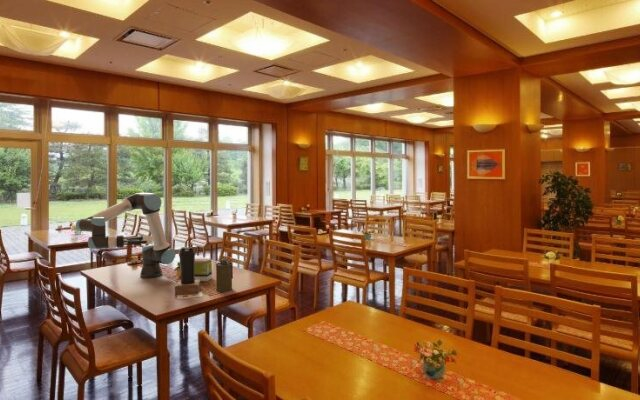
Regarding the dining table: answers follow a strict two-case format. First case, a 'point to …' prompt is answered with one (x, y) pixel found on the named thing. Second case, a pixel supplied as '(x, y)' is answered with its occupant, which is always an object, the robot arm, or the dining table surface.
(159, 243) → the robot arm
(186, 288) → the plinth
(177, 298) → the page
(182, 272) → the water bottle
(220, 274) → the canister
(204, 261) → the tea box
